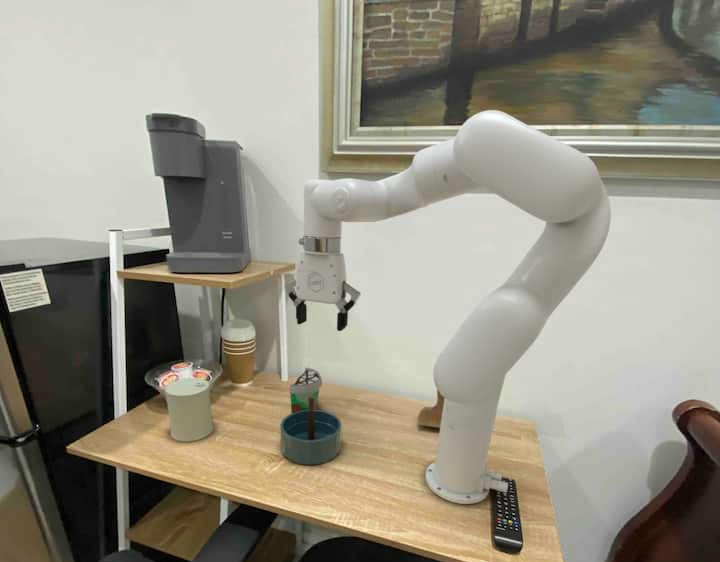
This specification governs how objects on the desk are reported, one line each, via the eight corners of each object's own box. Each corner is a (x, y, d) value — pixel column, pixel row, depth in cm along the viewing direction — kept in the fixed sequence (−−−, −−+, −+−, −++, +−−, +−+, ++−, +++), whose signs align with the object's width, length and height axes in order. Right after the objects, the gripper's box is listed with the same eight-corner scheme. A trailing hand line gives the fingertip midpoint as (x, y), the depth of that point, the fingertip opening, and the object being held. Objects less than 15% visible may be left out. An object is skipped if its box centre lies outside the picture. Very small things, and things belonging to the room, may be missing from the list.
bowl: (349, 440, 91) (350, 417, 89) (324, 472, 79) (324, 447, 77) (299, 426, 95) (299, 404, 93) (269, 456, 84) (268, 431, 81)
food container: (313, 425, 96) (313, 388, 92) (289, 421, 97) (289, 385, 93) (327, 402, 107) (328, 369, 104) (305, 399, 108) (306, 366, 105)
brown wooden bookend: (473, 414, 105) (482, 363, 100) (479, 438, 94) (490, 382, 89) (417, 408, 107) (423, 357, 102) (416, 430, 96) (423, 375, 91)
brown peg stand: (324, 442, 88) (325, 394, 84) (315, 453, 84) (316, 403, 80) (307, 438, 90) (307, 390, 85) (297, 448, 86) (297, 398, 81)
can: (213, 438, 89) (209, 390, 84) (169, 444, 85) (162, 395, 81) (213, 418, 97) (209, 374, 92) (172, 423, 94) (166, 377, 89)
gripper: (275, 243, 79) (278, 324, 85) (354, 251, 73) (351, 337, 79) (294, 241, 86) (295, 316, 92) (368, 248, 80) (364, 327, 86)
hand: (321, 326), depth 86 cm, fingers open, 9 cm apart
